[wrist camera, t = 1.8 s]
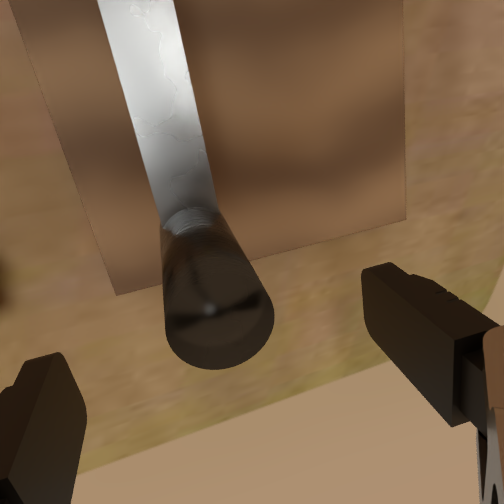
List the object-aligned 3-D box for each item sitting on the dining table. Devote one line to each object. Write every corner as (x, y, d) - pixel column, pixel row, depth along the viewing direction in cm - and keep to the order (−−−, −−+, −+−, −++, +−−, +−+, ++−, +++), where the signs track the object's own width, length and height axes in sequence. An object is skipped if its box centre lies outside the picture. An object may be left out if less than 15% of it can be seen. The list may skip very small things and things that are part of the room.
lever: (-22, -352, 11) (-409, -1337, 3) (109, -357, 12) (29, -1222, 4) (162, 265, 19) (170, 385, 11) (235, 246, 19) (291, 349, 12)
